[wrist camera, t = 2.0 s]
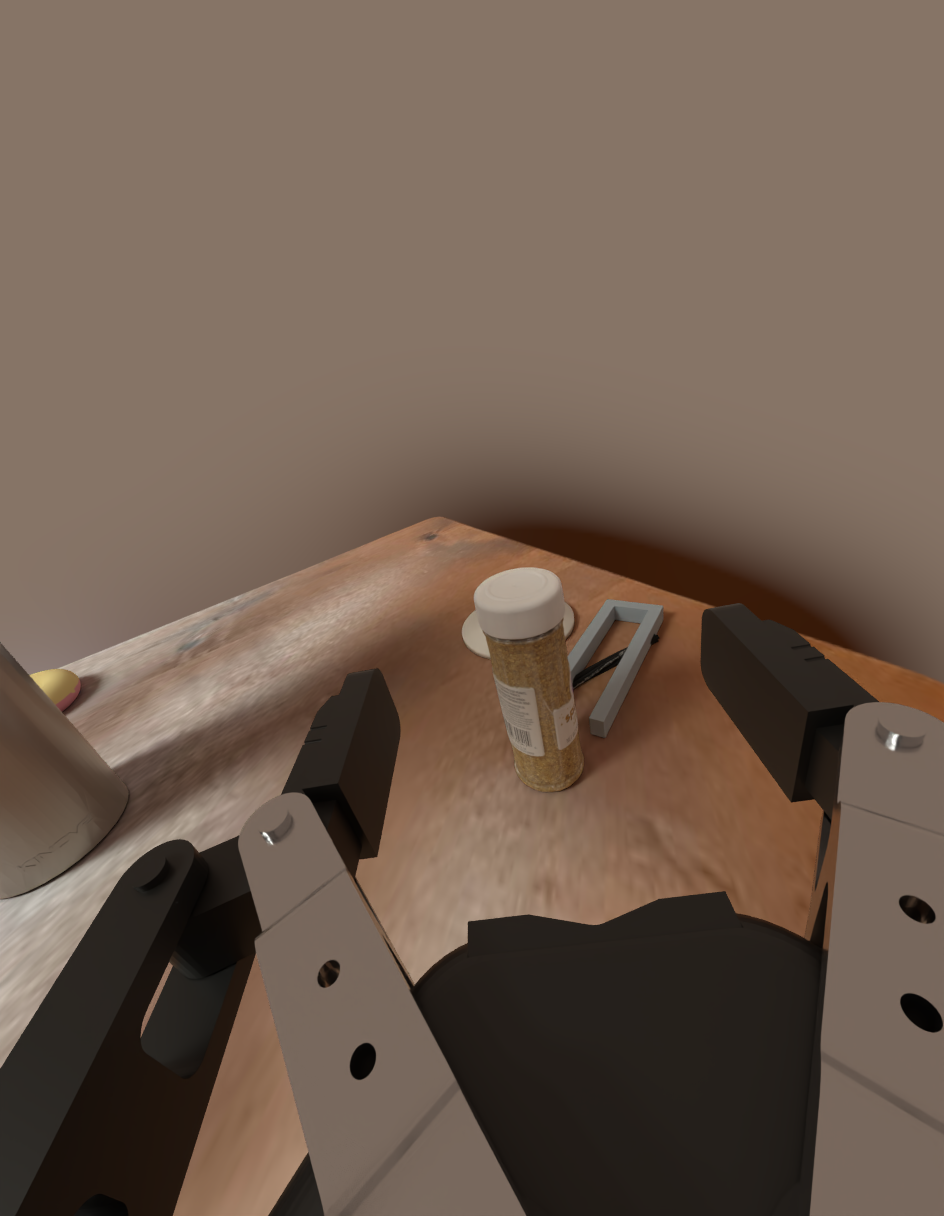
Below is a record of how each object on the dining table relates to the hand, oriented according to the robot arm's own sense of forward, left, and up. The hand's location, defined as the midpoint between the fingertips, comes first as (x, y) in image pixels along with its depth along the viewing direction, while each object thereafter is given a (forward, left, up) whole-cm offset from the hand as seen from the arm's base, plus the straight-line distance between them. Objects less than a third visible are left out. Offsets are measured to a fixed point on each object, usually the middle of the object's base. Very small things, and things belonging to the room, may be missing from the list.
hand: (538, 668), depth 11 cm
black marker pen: (-7, +19, -17) cm, 27 cm away
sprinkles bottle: (-6, +9, -17) cm, 20 cm away
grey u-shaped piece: (-6, +20, -17) cm, 27 cm away
